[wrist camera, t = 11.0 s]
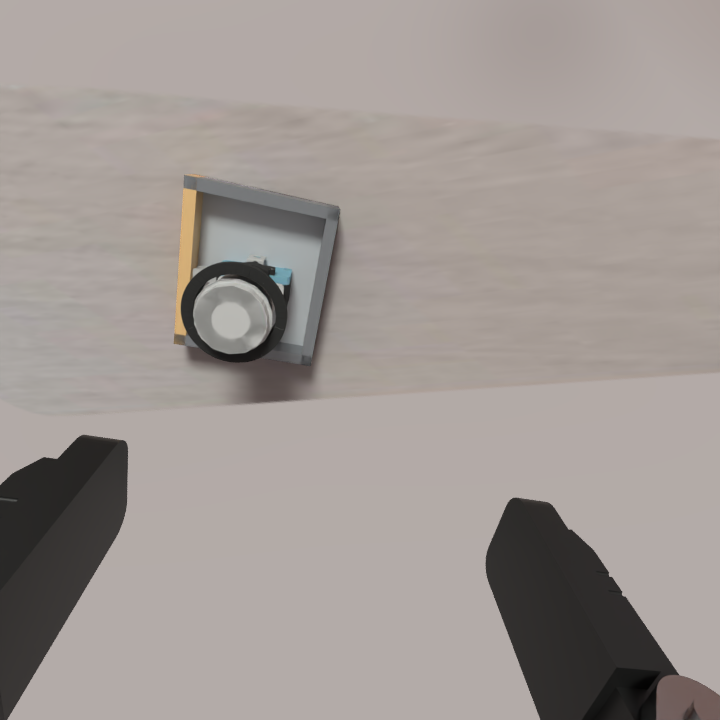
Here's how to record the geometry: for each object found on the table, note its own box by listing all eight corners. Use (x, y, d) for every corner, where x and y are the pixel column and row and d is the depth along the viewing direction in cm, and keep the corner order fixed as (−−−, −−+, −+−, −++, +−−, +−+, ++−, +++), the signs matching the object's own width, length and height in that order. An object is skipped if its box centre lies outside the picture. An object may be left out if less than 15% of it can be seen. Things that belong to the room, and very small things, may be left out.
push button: (197, 305, 31) (146, 360, 22) (199, 228, 29) (144, 254, 20) (291, 317, 32) (280, 375, 23) (299, 243, 30) (290, 275, 21)
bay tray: (338, 206, 30) (340, 209, 28) (311, 353, 34) (310, 366, 32) (194, 174, 29) (184, 174, 26) (183, 332, 33) (173, 343, 30)
